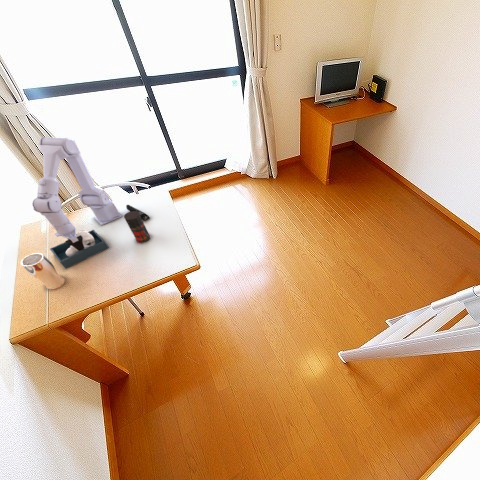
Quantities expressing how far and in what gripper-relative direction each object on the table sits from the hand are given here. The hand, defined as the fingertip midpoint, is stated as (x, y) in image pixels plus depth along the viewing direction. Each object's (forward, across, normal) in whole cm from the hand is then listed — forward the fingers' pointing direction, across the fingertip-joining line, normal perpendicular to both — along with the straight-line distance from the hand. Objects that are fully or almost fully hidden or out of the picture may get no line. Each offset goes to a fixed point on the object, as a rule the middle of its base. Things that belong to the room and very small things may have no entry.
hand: (77, 245), depth 123 cm
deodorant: (+4, +11, +22) cm, 25 cm away
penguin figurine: (+4, 0, 0) cm, 4 cm away
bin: (+4, 0, 0) cm, 4 cm away
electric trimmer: (+4, -8, +29) cm, 30 cm away
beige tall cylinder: (+4, +11, -14) cm, 18 cm away
